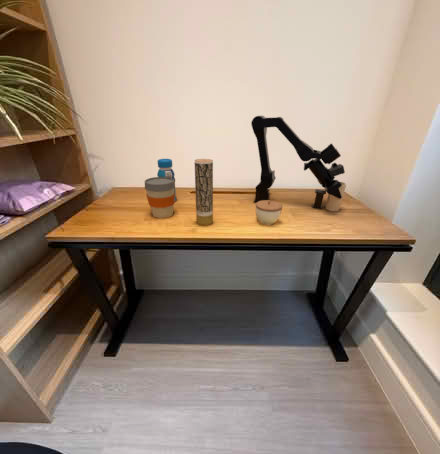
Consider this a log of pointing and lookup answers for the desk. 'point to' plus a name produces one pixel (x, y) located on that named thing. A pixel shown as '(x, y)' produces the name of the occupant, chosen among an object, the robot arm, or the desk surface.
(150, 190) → the reusable coffee cup
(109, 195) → the desk surface
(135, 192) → the desk surface
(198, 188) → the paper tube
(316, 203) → the leg piece
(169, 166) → the beverage bottle
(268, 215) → the trinket box
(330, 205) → the pen pot
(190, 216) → the desk surface
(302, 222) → the desk surface
